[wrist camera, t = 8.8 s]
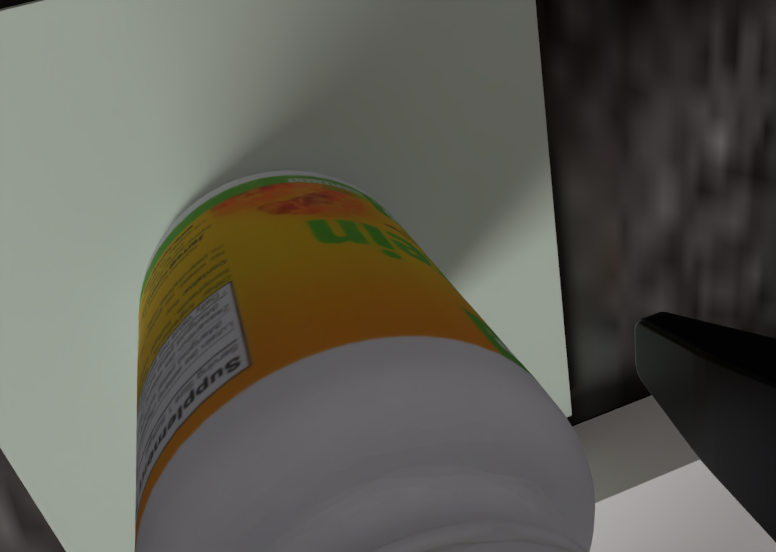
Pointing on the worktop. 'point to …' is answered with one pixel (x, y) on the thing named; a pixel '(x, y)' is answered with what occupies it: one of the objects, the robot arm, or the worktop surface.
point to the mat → (237, 160)
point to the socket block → (659, 489)
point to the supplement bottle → (335, 391)
